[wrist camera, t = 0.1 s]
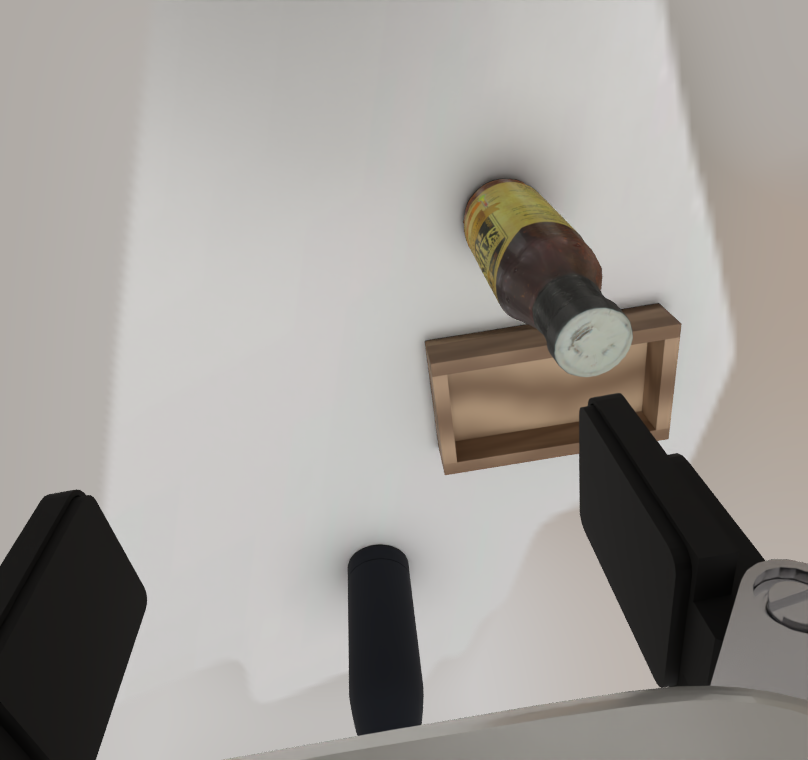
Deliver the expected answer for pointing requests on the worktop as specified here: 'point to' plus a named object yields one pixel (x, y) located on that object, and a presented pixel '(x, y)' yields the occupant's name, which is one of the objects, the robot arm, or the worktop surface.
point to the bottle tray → (540, 391)
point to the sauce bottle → (546, 276)
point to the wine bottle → (382, 642)
